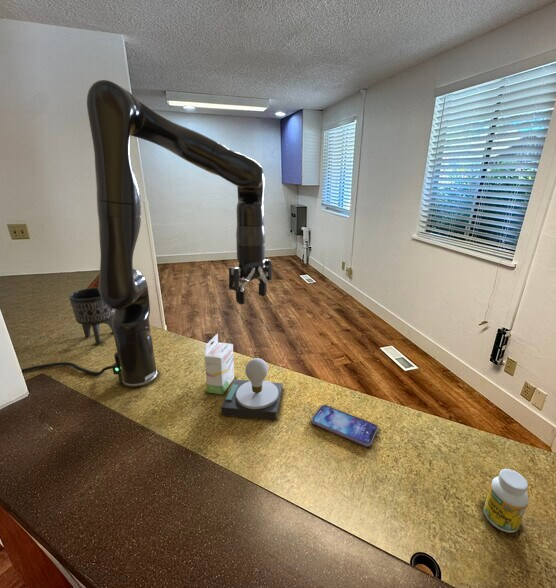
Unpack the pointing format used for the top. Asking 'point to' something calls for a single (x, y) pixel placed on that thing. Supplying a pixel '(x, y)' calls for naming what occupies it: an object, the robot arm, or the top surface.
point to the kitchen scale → (252, 400)
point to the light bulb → (256, 373)
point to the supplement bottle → (507, 500)
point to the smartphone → (345, 425)
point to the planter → (91, 311)
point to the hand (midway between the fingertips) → (251, 299)
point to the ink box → (218, 366)
